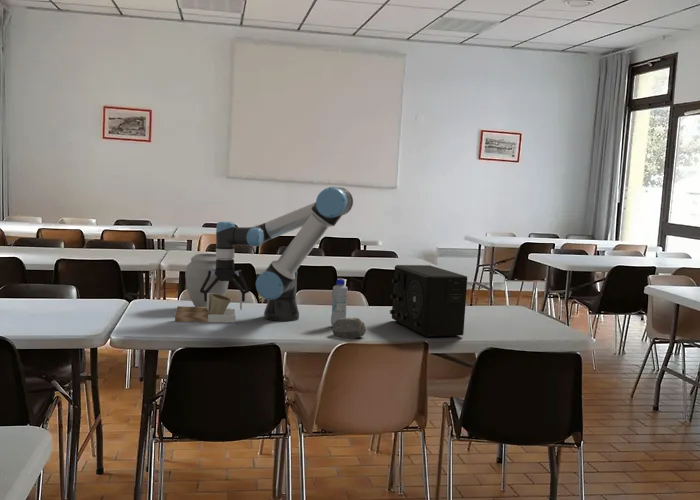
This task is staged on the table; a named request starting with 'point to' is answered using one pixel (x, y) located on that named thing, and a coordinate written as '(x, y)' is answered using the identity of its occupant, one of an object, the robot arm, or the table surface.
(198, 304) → the vase
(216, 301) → the flower pot
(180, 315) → the flat square wooden block
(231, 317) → the bay
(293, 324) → the table surface
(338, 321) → the stone
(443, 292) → the vintage radio
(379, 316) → the table surface
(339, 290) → the bottle
